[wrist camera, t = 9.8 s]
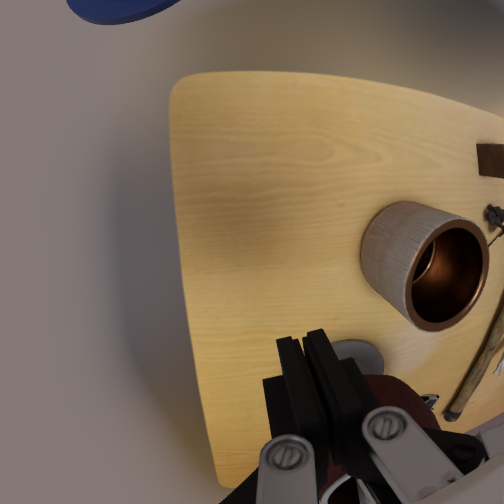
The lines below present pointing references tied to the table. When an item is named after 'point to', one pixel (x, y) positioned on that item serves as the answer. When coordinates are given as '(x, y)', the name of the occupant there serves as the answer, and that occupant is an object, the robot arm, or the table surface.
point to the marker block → (491, 160)
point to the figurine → (496, 218)
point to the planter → (426, 263)
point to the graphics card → (430, 400)
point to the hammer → (477, 371)
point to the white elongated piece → (500, 365)
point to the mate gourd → (388, 394)
